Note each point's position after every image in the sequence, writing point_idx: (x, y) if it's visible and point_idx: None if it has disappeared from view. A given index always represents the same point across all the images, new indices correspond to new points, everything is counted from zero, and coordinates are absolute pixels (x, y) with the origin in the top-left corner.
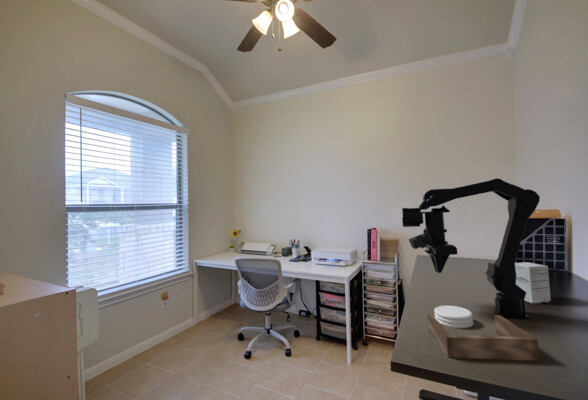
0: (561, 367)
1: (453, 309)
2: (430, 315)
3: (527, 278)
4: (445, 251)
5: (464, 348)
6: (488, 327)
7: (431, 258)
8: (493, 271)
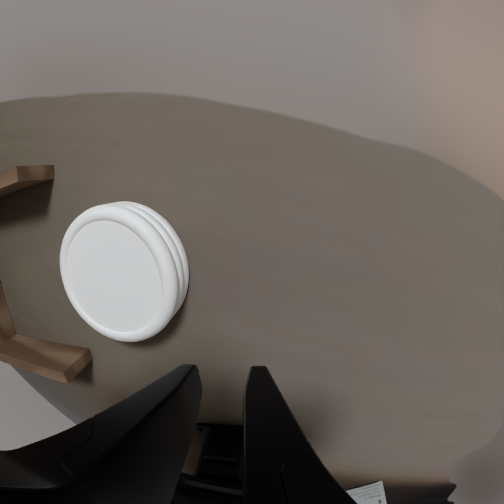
0: None
1: (126, 289)
2: (12, 176)
3: None
4: None
5: None
6: (113, 348)
7: (288, 488)
8: None
